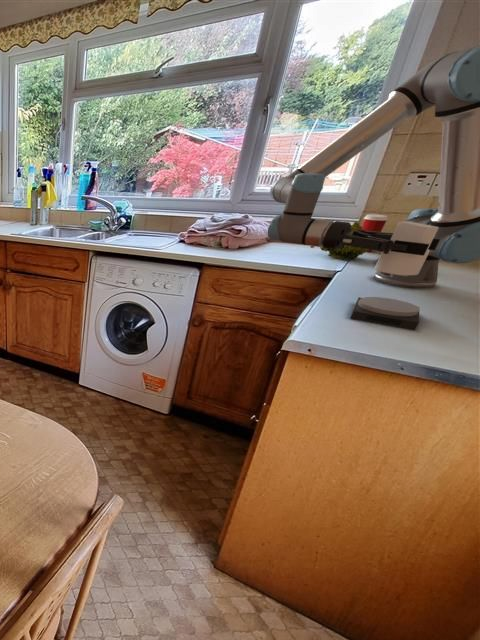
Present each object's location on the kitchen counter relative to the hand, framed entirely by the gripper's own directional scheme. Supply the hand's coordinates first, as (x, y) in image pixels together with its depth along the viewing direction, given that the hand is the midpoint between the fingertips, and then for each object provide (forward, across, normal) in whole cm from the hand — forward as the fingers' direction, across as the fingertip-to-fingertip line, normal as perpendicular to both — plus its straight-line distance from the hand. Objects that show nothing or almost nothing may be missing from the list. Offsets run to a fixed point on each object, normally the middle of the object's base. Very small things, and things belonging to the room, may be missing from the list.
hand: (431, 247), depth 110 cm
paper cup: (-33, -84, -18) cm, 92 cm away
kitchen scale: (-2, +6, -18) cm, 19 cm away
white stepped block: (-5, 0, -7) cm, 9 cm away
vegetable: (-34, -63, -18) cm, 74 cm away
